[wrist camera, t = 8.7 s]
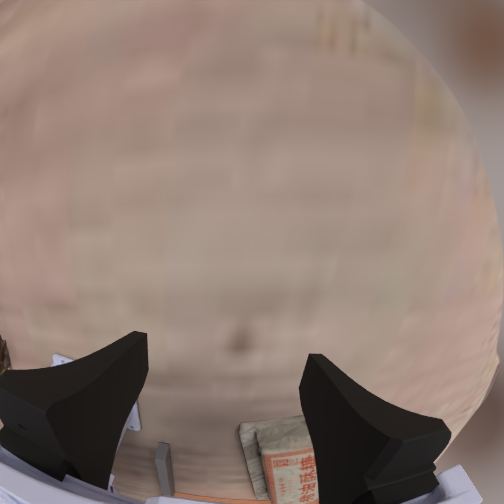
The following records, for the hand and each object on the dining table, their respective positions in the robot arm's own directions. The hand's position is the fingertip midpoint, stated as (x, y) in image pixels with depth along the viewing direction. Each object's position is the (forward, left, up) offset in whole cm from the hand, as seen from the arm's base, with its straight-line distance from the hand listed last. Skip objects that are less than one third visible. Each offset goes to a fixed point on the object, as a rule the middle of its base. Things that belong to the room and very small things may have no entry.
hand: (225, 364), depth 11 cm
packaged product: (+9, -22, -10) cm, 26 cm away
